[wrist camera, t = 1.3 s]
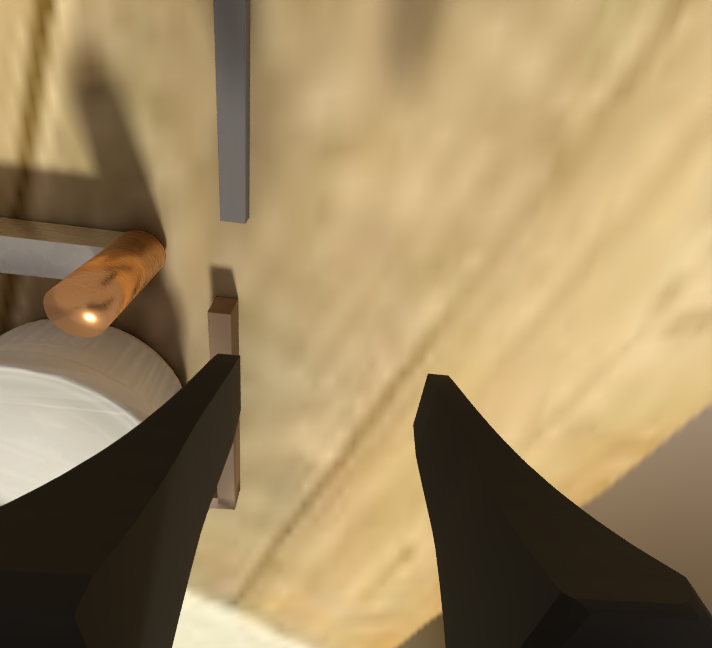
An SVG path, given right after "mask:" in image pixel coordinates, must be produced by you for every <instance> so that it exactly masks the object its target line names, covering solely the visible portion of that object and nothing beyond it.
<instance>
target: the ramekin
mask: <svg viewBox="0 0 712 648" xmlns="http://www.w3.org/2000/svg"><path fill="white" fill-rule="evenodd" d="M181 388H182V386H181V384H180V382H179V379H178V378H177V377H176V375H175V374H174V372H173V370H172V369H171V368H170V367H169V366H168V364H167V363H166V362H165V361H164V360H163V359H162V357H161V356H160V355H159V354H157V353H156V352H155V351H154V350H153V349H152V348H150V347H149V346H148V345H147V344H145V343H144V342H142V341H141V340H139V339H138V338H136V337H134V336H132V335H130V334H128V333H126V332H124V331H122V330H119V329H117V328H114V327H111V326H108V327H107V328H106V330H105V331H104V332H103V333H101V334H100V335H98V336H95V337H91V338H82V337H76V336H73V335H70V334H68V333H65V332H64V331H62V330H60V329H59V328H58V327H56V326H55V325H54V324H53V323H52V322H51V321H50V319H43V320H38V321H35V322H29V323H26V324H24V325H22V326H19V327H16V328H14V329H12V330H10V331H8V332H6V333H4V334H2V335H0V506H2V505H4V504H6V503H8V502H11V501H13V500H15V499H17V498H19V497H21V496H22V495H24V494H26V493H28V492H30V491H32V490H34V489H36V488H38V487H40V486H42V485H44V484H46V483H48V482H49V481H51V480H53V479H55V478H57V477H59V476H60V475H62V474H64V473H66V472H67V471H69V470H71V469H72V468H74V467H76V466H77V465H79V464H81V463H82V462H84V461H86V460H87V459H89V458H91V457H92V456H94V455H95V454H97V453H99V452H100V451H102V450H103V449H105V448H106V447H108V446H109V445H111V444H112V443H114V442H115V441H117V440H118V439H119V438H121V437H122V436H124V435H125V434H126V433H128V432H129V431H131V430H132V429H133V428H135V427H136V426H137V425H139V424H140V423H141V422H142V421H144V420H145V419H146V418H147V417H149V416H150V415H151V414H152V413H153V412H155V411H156V410H157V409H158V408H160V407H161V406H162V405H163V404H164V403H166V402H167V401H168V400H169V399H170V398H171V397H172V396H173V395H174V394H176V393H177V392H178V391H179V390H180V389H181Z"/></svg>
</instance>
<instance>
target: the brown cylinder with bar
mask: <svg viewBox="0 0 712 648" xmlns="http://www.w3.org/2000/svg"><path fill="white" fill-rule="evenodd" d="M165 260H166V254H165V250H164V248H163V246H162V244H161V243H160V242H159V241H158V239H156V238H155V237H154V236H153V235H151V234H149V233H147V232H144V231H140V230H131V231H128V232H120V231H111V230H103V229H95V228H86V227H78V226H69V225H61V224H53V223H44V222H36V221H28V220H19V219H11V218H2V217H0V273H8V274H17V275H26V276H36V277H45V278H54V279H63V280H62V281H60V282H59V283H58V284H56V285H55V286H54V287H52V288H51V289H50V290H49V291H48V292H47V293H46V294H45V296H44V300H43V306H44V310H45V313H46V315H47V317H48V318H49V319H50V321H51V322H52V323H53V324H54V325H55V326H56V327H58V328H59V329H60V330H62V331H64V332H65V333H68V334H70V335H73V336H76V337H82V338H91V337H95V336H98V335H100V334H101V333H103V332H104V331H105V330H106V328H107V327H108V326H109V325H110V324H111V323H112V322H113V321H114V320H115V319H116V318H117V316H118V315H119V314H120V313H121V312H122V311H123V310H124V309H125V308H126V307H127V305H128V304H129V303H130V302H131V301H132V300H133V299H134V298H135V297H136V296H137V295H138V293H139V292H140V291H141V290H142V289H143V288H144V287H145V286H146V285H147V284H148V282H149V281H150V280H151V279H152V278H153V277H154V276H155V275H156V274H157V273H158V272H159V270H160V269H161V268H162V267H163V266H164V264H165Z"/></svg>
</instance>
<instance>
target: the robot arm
mask: <svg viewBox="0 0 712 648" xmlns="http://www.w3.org/2000/svg"><path fill="white" fill-rule="evenodd" d="M240 411H241V393H240V355H229V354H219V353H218V354H217V355H215V356H214V357H213V358H212V359H211V360H210V361H209V362H208V363H207V364H206V365H205V366H204V367H203V368H202V369H201V370H200V371H199V372H198V373H197V374H196V375H195V376H194V377H193V378H192V379H191V380H190V381H189V382H188V383H187V384H185V385H184V386H183V387H182V388H181V389H180V390H179V391H178V392H177V393H176V394H174V395H173V396H172V397H171V398H170V399H169V400H168V401H167V402H166V403H164V404H163V405H162V406H161V407H160V408H158V409H157V410H156V411H155V412H153V413H152V414H151V415H150V416H149V417H147V418H146V419H145V420H144V421H142V422H141V423H140V424H139V425H137V426H136V427H135V428H133V429H132V430H131V431H129V432H128V433H126V434H125V435H124V436H122V437H121V438H119V439H118V440H117V441H115V442H114V443H112V444H111V445H109V446H108V447H106V448H105V449H103V450H102V451H100V452H99V453H97V454H95V455H94V456H92V457H91V458H89V459H87V460H86V461H84V462H82V463H81V464H79V465H77V466H76V467H74V468H72V469H71V470H69V471H67V472H66V473H64V474H62V475H60V476H59V477H57V478H55V479H53V480H51V481H49V482H48V483H46V484H44V485H42V486H40V487H38V488H36V489H34V490H32V491H30V492H28V493H26V494H24V495H22V496H21V497H19V498H17V499H15V500H13V501H11V502H8V503H6V504H4V505H2V506H0V648H172V645H173V641H174V637H175V633H176V628H177V624H178V620H179V616H180V612H181V608H182V604H183V600H184V596H185V592H186V588H187V584H188V580H189V576H190V572H191V568H192V564H193V560H194V556H195V553H196V549H197V545H198V541H199V538H200V534H201V530H202V527H203V524H204V521H205V518H206V515H207V512H208V510H209V507H210V504H211V502H212V499H213V496H214V493H215V491H216V488H217V485H218V483H219V480H220V477H221V474H222V472H223V469H224V466H225V464H226V461H227V458H228V455H229V453H230V450H231V447H232V444H233V441H234V437H235V432H236V428H237V424H238V420H239V415H240ZM413 427H414V440H415V450H416V458H417V463H418V468H419V473H420V477H421V482H422V486H423V491H424V495H425V500H426V504H427V509H428V513H429V518H430V522H431V527H432V532H433V537H434V543H435V549H436V557H437V566H438V574H439V582H440V592H441V601H442V611H443V620H444V632H445V644H446V648H712V616H711V614H710V612H709V611H708V609H707V608H706V606H705V605H704V603H703V602H702V601H701V599H700V597H699V596H698V594H697V593H696V591H695V590H694V588H693V587H692V586H691V584H690V583H689V581H688V580H687V578H686V577H684V576H683V575H681V574H680V573H678V572H676V571H675V570H673V569H671V568H670V567H668V566H666V565H664V564H663V563H661V562H660V561H658V560H656V559H655V558H653V557H651V556H650V555H648V554H647V553H645V552H643V551H642V550H640V549H638V548H637V547H635V546H634V545H632V544H630V543H629V542H627V541H626V540H625V539H623V538H622V537H620V536H619V535H617V534H615V533H614V532H613V531H611V530H610V529H608V528H607V527H605V526H604V525H602V524H601V523H600V522H598V521H597V520H596V519H594V518H593V517H591V516H590V515H589V514H587V513H586V512H585V511H583V510H582V509H581V508H579V507H578V506H577V505H576V504H574V503H573V502H572V501H570V500H569V499H568V498H567V497H565V496H564V495H563V494H561V493H560V492H559V491H558V490H557V489H555V488H554V487H553V486H552V485H551V484H549V483H548V482H547V481H546V480H545V479H544V478H543V477H541V476H540V475H539V474H538V473H537V472H536V471H535V470H534V469H532V468H531V467H530V466H529V465H528V464H527V463H526V462H525V461H524V460H523V459H522V458H521V457H520V456H519V455H518V454H517V453H516V452H515V451H514V450H513V449H512V448H511V447H510V446H509V445H508V444H507V443H506V442H505V441H504V440H503V439H502V438H501V437H500V436H499V435H498V434H497V432H496V431H495V430H494V429H493V428H492V427H491V426H490V425H489V424H488V422H487V421H486V420H485V419H484V418H483V417H482V416H481V414H480V413H479V412H478V411H477V410H476V408H475V407H474V406H473V405H472V404H471V402H470V401H469V400H468V399H467V398H466V396H465V395H464V394H463V393H462V391H461V390H460V389H459V388H458V386H457V385H456V384H455V383H454V382H453V380H452V379H451V378H450V377H449V376H447V375H437V374H428V375H427V379H426V382H425V386H424V389H423V393H422V396H421V400H420V403H419V407H418V410H417V414H416V417H415V421H414V424H413Z"/></svg>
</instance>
